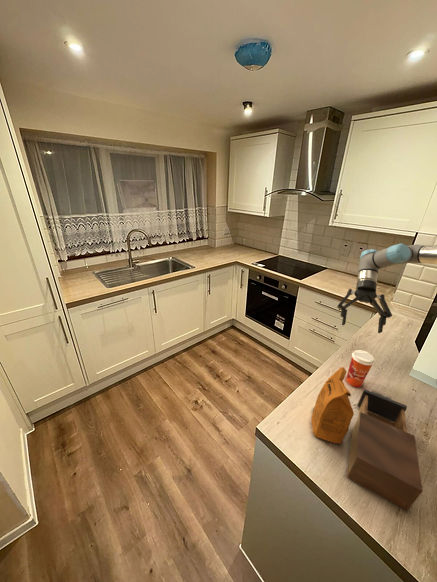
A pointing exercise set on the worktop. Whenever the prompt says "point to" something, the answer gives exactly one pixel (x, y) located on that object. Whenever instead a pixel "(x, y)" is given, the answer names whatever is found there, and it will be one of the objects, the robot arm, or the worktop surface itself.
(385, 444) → the cabinet
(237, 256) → the worktop surface
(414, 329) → the worktop surface
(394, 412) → the drawer
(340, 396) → the coffee package
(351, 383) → the paper cup
